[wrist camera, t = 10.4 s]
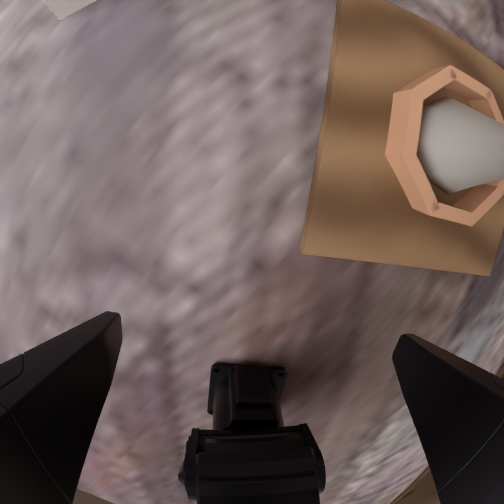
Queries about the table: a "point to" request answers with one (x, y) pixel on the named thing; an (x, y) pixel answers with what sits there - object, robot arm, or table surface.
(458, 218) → the ring
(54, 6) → the grater
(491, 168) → the flask
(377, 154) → the board
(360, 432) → the table surface
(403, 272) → the table surface
